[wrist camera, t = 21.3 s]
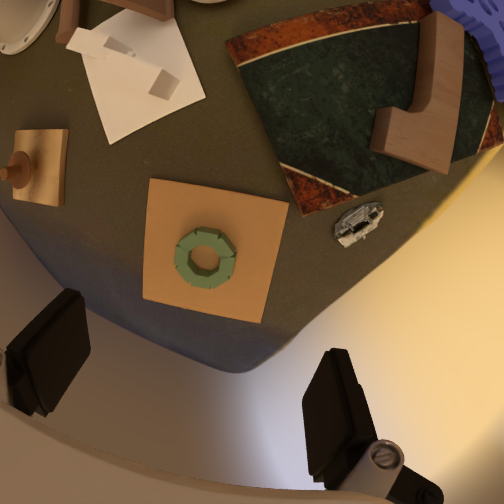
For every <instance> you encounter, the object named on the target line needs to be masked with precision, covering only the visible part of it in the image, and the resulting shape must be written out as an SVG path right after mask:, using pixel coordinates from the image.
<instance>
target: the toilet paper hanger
mask: <svg viewBox="0 0 504 504" xmlns="http://www.w3.org/2000/svg"><path fill="white" fill-rule="evenodd" d="M80 1H81V0H62V3H61V12H60V23H59V32H58V33H57V34H56V42H57V43H61V44H65V43H69V41H70V39H71V38H72V36H73V34H74V32H75V31H76V29H77V27H79V13H80ZM100 1H104V2H107V3H111V4H114V5H117V6H120V7H123V8H127V9H130V10H132V11H135V12H138V13H141V14H144V15H147V16H149V17H152V18H154V19H157V20H160V21H162V22H165V21H168V20H170V19H172V18H174V3H173V0H100Z"/></svg>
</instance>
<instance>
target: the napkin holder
mask: <svg viewBox="0 0 504 504" xmlns="http://www.w3.org/2000/svg"><path fill="white" fill-rule="evenodd" d="M66 48H67V49H70V50H73V51H76V52H79V53H81V54H82V58H83V62H84V65H85V69H86V73H87V76H88V80H89V83H90V86H91V90H92V93H93V96H94V99H95V103H96V106H97V109H98V112H99V115H100V118H101V121H102V124H103V127H104V130H105V133H106V135H107V138H108V141H109V144H110V145H111V144H113V143H114V142H116V141H118V140H120V139H121V138H123V137H125V136H127V135H129V134H130V133H132V132H134V131H136V130H138V129H140V128H142V127H144V126H145V125H147V124H149V123H151V122H153V121H155V120H157V119H159V118H161V117H164V116H166V115H168V114H170V113H172V112H174V111H176V110H178V109H181V108H183V107H185V106H187V105H190V104H192V103H194V102H197V101H199V100H201V99H204V98H206V96H205V94H204V91H203V89H202V86H201V84H200V81H199V78H198V76H197V73H196V71H195V68H194V66H193V63H192V61H191V58H190V56H189V53H188V51H187V48H186V46H185V43H184V41H183V38H182V36H181V33H180V31H179V28H178V26H177V23H176V21H175V18H172V19H170V20H168V21H165V22H162V21H160V20H157V19H154V18H152V17H149V16H147V15H144V14H141V13H138V12H135V11H132V10H130V9H127V8H126V9H124V10H123V11H121V12H119V13H118V14H116V15H114V16H112V17H111V18H109V19H108V20H106V21H104V22H103V23H101V24H100V25H98V26H97V27H95V28H94V29H92V30H91V31H90V30H87V29H83V28H79V27H77V29H76V31H75V32H74V34H73V36H72V38H71V39H70V41H69V43H68V45H67V47H66Z"/></svg>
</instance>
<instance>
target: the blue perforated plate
mask: <svg viewBox="0 0 504 504" xmlns="http://www.w3.org/2000/svg"><path fill="white" fill-rule="evenodd" d="M430 1H431V2H429V4H430V6H431V8H432V10H433V12H434V11H439V12H441V13H443V14H444V15H446V16H448V17H450V18H451V19H453V20H454V21H456V22H458V23H459V24H461V25H462V26H463V27H464V31H466V30H467V31H468V33H469V34H471V35H473V36H474V37H475V38H476V39H477V41H478V44H479V47H480V49H481V50H482V51H483V53H484V55H483V57H484V60H485V62H487V65H488V67H487V69H488V72H489V74H491V77H492V79H491V82H492V86H494V87H495V91H496V92H495V97H496V101H498V102H504V0H430Z"/></svg>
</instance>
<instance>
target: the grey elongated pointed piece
mask: <svg viewBox="0 0 504 504" xmlns="http://www.w3.org/2000/svg"><path fill="white" fill-rule="evenodd" d="M352 209H355V208H352ZM352 209H350V210H348V211H347V212H346V213H344V214H343V217H341V219H340V221H339V222H338V223H337V224H335V234H334V237H335V238H337V240H339V242H340V243H341V244H342V245H344V246H345V248H346V247H348V246H350V245H351V244H353V243H355V242H356V241H358V240H359V239H361V238H363V239H365V238H366V237H365V234H367V233H369V232H370V231H372V230H373V229H375V228H376V227H377V226H378V225H377V223H378V222H379V220H380V218H381V217H382V216H383V211H384V209H383V205H382V203H378V202H373V203H365V204H361V205H360V206H359V207H358V208H357V209H355V210H352ZM376 212H377V213H378V214H376V215H375V213H376ZM373 213H374V215H375V217H373V218H372V217H371V216H373V215H372V214H373ZM362 221H365V222H366V221H368V222H369V224H368V225H367V224H365V225H364V226H363V228H362V229H359V230H358V231H356V233H355V234H354V233H353V231H354V229H353V226H355V225H356V224H358V223H361V222H362ZM371 223H372V224H371ZM348 231H349V233H348ZM344 233H347V234H346V235H345V236H343V234H344Z"/></svg>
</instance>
